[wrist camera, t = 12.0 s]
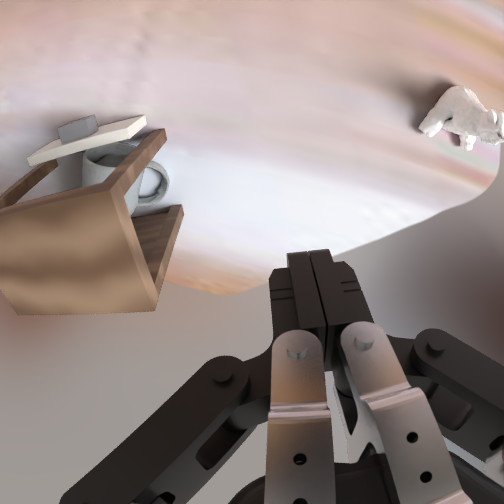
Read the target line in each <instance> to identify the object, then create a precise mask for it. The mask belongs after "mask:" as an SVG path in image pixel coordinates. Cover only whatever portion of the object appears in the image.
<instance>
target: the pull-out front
mask: <svg viewBox="0 0 504 504" xmlns="http://www.w3.org/2000/svg"><path fill="white" fill-rule="evenodd" d="M145 125H147V123H146V118H145V115H143V116H139V117H135V118H130V119H126V120H122V121H118V122H115V123H111V124H107V125H103V126H100V127H98V126H97V122H96V118H95V115H92V116H88V117H85V118H82V119H79V120H76V121H73V122H70V123H67V124H65V125H63V126H61V127H60V128H58V133H59V136H60V139H58V140H55V141H52V142H50V143H49V144H47V145H46V146H44V147H43V148H41V149H40V150H38V151H37V152H35V153H34V154H32V155H31V156H29V157H28V158H27V160H28V163H29V166H30V167H31V166H34V165H37V164H40V163H43V162H46V161H49V160H53V159H56V158H59V157H62V156H66V155H69V154H72V153H76V152H79V151H83V150H87V149H90V148H94V147H98V146H102V145H105V144H109V143H113V142H118V141H122V140H126V139H130V138H131V137H132V136H133V135H135V134H136V133H137V132H138V131H139V130H141V129H142V128H143V127H144V126H145Z"/></svg>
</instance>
